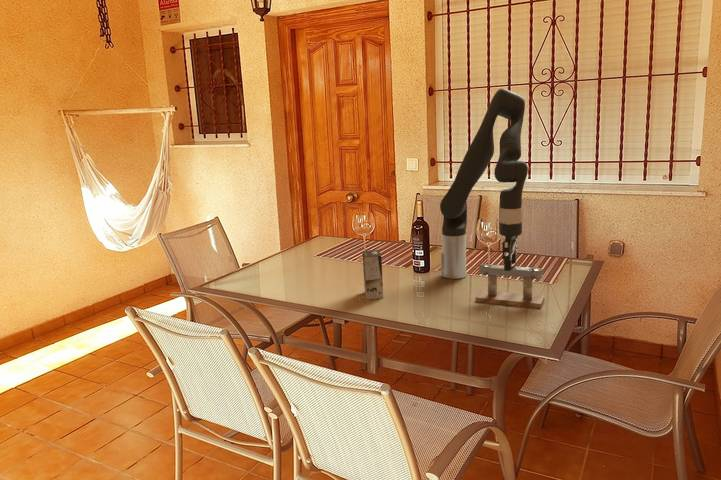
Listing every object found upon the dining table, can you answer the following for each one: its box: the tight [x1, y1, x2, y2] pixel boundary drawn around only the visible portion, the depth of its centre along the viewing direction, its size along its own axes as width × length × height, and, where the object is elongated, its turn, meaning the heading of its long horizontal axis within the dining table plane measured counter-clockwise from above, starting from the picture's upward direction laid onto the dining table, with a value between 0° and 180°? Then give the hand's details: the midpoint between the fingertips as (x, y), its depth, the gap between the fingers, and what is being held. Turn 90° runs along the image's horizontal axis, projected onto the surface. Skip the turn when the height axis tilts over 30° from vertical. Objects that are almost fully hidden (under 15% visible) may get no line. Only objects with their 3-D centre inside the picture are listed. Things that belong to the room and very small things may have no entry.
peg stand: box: [475, 274, 545, 309], centre depth 202 cm, size 22×8×10 cm, turn 65°
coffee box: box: [362, 249, 384, 300], centre depth 214 cm, size 9×6×16 cm
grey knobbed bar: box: [478, 263, 544, 280], centre depth 200 cm, size 21×4×2 cm, turn 65°
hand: (510, 266), depth 200 cm, fingers open, 8 cm apart
